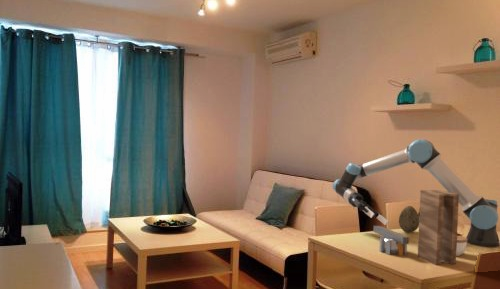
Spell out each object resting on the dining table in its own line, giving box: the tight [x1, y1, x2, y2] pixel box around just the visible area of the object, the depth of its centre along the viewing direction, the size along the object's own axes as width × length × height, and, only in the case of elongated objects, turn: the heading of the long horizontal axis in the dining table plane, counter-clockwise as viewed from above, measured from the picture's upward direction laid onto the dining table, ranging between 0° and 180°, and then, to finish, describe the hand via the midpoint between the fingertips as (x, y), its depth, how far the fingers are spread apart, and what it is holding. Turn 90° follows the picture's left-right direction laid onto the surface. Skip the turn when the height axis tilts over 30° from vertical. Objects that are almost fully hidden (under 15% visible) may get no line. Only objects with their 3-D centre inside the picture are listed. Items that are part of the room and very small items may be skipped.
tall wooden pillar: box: [417, 189, 460, 266], centre depth 185 cm, size 10×12×30 cm
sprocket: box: [379, 235, 408, 256], centre depth 197 cm, size 12×12×6 cm
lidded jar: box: [456, 235, 468, 257], centre depth 196 cm, size 11×11×9 cm
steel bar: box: [373, 225, 410, 245], centre depth 199 cm, size 3×24×3 cm, turn 15°
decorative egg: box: [398, 205, 419, 234], centre depth 238 cm, size 11×11×15 cm
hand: (380, 219), depth 216 cm, fingers open, 13 cm apart
